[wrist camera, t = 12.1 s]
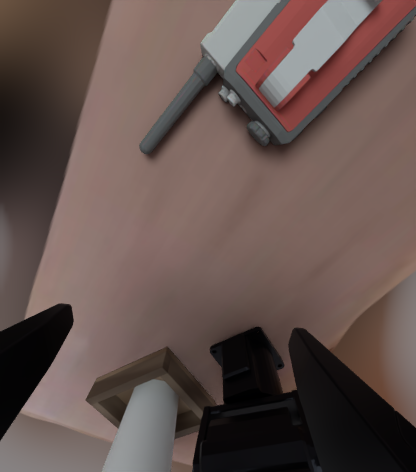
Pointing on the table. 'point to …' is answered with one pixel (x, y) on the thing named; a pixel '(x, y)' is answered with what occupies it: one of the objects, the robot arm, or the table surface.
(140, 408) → the white cup
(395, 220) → the table surface
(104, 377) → the frame
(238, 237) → the table surface
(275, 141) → the walkie-talkie
